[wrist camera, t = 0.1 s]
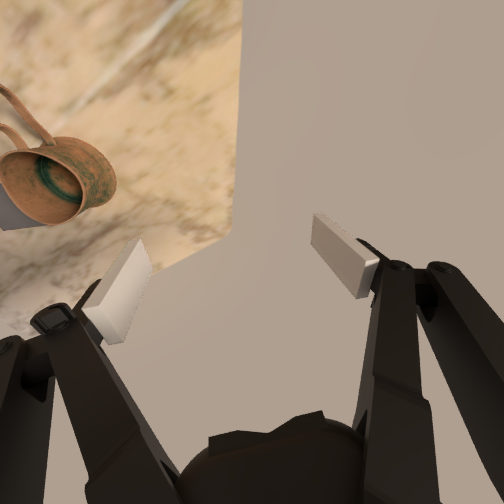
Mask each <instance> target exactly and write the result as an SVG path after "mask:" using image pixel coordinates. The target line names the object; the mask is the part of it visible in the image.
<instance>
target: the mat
mask: <svg viewBox="0 0 504 504" xmlns="http://www.w3.org/2000/svg"><path fill="white" fill-rule="evenodd" d="M43 225H47V224H43V223H40V222H38V221H36V220H34V219H32V218H30V217H29V216H27V215H26V214H24V213H23V212H22V211H21V210H20V209H19V208H18V207H17V206H16V205H15V204H14V203H13V201H12V200H11V199H10V197H9V196H8V194H7V193H6V191H5V189H4V187H3V186H2V184H1V183H0V227H1V229H2V230H3V231H5V230H13V229H21V228H28V227H36V226H43Z"/></svg>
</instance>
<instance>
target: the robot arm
mask: <svg viewBox="0 0 504 504" xmlns="http://www.w3.org/2000/svg"><path fill="white" fill-rule="evenodd" d="M311 245H312V246H313V247H314V249H315V250H316V251H317V252H318V254H319V255H320V256H321V257H322V258H323V260H324V261H325V262H326V263H327V264H328V266H329V267H330V268H331V269H332V271H333V272H334V273H335V274H336V275H337V277H338V278H339V279H340V280H341V282H342V283H343V284H344V285H345V286H346V288H347V289H348V290H349V291H350V292H351V294H352V295H353V296H354V297H355V299H359V298H364V297H368V295H369V292H370V289H371V290H372V291H373V292H374V293H375V295H374V298H373V301H372V304H371V308H372V310H371V317H370V323H369V331H368V337H367V343H366V349H365V356H364V362H363V369H362V375H361V382H360V389H359V396H358V402H357V408H356V413H355V416H354V420H353V425H352V428H351V427H349V426H347V425H345V424H343V423H341V422H338V421H335V420H331V419H326V418H325V417H324V415H323V412H322V411H316V412H312V413H308V414H304V415H300V416H295V417H294V418H292V419H291V420H289V421H287V422H286V423H284V424H283V425H281V426H279V427H278V428H276V429H275V430H273V431H271V432H269V433H261V432H250V431H240V430H237V431H233V432H229V433H224V434H220V435H216V436H212V437H209V446H208V447H207V448H205V449H204V450H202V451H201V452H200V453H199V454H197V455H196V456H195V457H194V458H193V460H191V461H190V463H189V464H188V465H187V466H186V468H185V469H184V470H183V472H182V473H181V474H180V473H179V471H178V470H177V469H176V467H175V466H174V464H173V463H172V461H171V460H170V459H169V457H168V456H167V454H166V453H165V451H164V449H163V448H162V446H161V444H160V443H159V441H158V439H157V438H156V436H155V435H154V433H153V431H152V429H151V428H150V426H149V425H148V423H147V421H146V420H145V418H144V416H143V415H142V413H141V411H140V410H139V408H138V406H137V405H136V403H135V402H134V400H133V398H132V397H131V395H130V393H129V392H128V390H127V388H126V387H125V385H124V383H123V382H122V380H121V378H120V377H119V375H118V374H117V372H116V370H115V369H114V367H113V365H112V364H111V362H110V360H109V359H108V357H107V355H106V354H105V352H104V350H103V349H102V348H101V346H100V344H101V342H102V340H103V339H104V340H105V341H106V343H107V344H108V345H112V344H117V343H122V342H124V340H125V338H126V335H127V333H128V330H129V328H130V325H131V323H132V320H133V318H134V315H135V313H136V310H137V308H138V305H139V303H140V300H141V298H142V295H143V293H144V290H145V288H146V285H147V283H148V280H149V278H150V275H151V273H152V270H153V267H152V264H151V262H150V260H149V257H148V255H147V252H146V250H145V248H144V245H143V243H142V240H141V238H139V239H131V240H129V241H128V243H127V244H126V246H125V247H124V248H123V250H122V251H121V253H120V254H119V256H118V257H117V258H116V260H115V261H114V263H113V264H112V266H111V267H110V268H109V270H108V271H107V273H106V274H105V276H104V277H103V278H102V279H98V280H97V281H95V282H94V283H93V284H92V285H90V286H89V288H88V289H87V290H86V292H85V293H84V295H83V296H82V297H81V299H80V300H79V301H78V303H77V304H76V305H75V307H74V308H73V309H72V310H71V308H70V307H69V306H68V305H67V304H66V303H56V304H53V305H50V306H48V307H46V308H44V309H42V310H41V311H39V312H38V313H37V314H36V315H34V316H33V318H32V319H31V321H30V324H31V325H32V326H33V327H34V328H35V329H36V330H37V331H38V332H39V333H40V334H41V335H39V336H37V337H34V338H31V339H28V340H26V341H25V340H24V339H22V338H21V337H20V336H18V335H14V336H9V337H6V338H4V339H1V340H0V504H43V498H44V489H45V479H46V469H47V459H48V449H49V439H50V428H51V419H52V409H53V398H54V389H55V388H54V387H55V379H57V382H58V385H59V388H60V391H61V394H62V397H63V400H64V403H65V406H66V409H67V412H68V415H69V418H70V421H71V424H72V427H73V430H74V433H75V436H76V439H77V442H78V445H79V448H80V451H81V454H82V457H83V460H84V463H85V466H86V469H87V472H88V476H89V480H88V482H87V483H86V485H85V495H86V500H87V503H88V504H442V503H441V502H440V497H439V487H438V476H437V466H436V456H435V445H434V433H433V423H432V412H431V407H430V404H429V401H428V400H426V399H424V398H423V396H422V387H421V372H420V357H419V342H418V328H417V315H418V318H419V320H420V322H421V324H422V327H423V329H424V331H425V333H426V336H427V338H428V340H429V342H430V345H431V347H432V350H433V352H434V354H435V356H436V359H437V361H438V363H439V366H440V368H441V370H442V372H443V375H444V377H445V379H446V381H447V384H448V386H449V388H450V390H451V393H452V395H453V397H454V400H455V402H456V404H457V406H458V409H459V411H460V413H461V416H462V418H463V420H464V423H465V425H466V427H467V429H468V432H469V434H470V436H471V439H472V441H473V443H474V445H475V448H476V450H477V452H478V455H479V457H480V459H481V461H482V463H483V465H484V467H485V469H486V471H487V473H488V475H489V477H490V479H491V481H492V483H493V485H494V486H495V488H496V490H497V491H498V493H499V495H500V497H501V499H502V500H503V502H504V323H503V322H502V320H501V319H500V318H499V317H498V316H497V314H496V313H495V312H494V311H493V310H492V308H491V307H490V306H489V305H488V304H487V302H486V301H485V300H484V299H483V298H482V296H481V295H480V294H479V293H478V292H477V290H476V289H475V288H474V287H473V285H472V284H471V283H470V282H469V281H468V279H467V278H466V277H465V276H464V275H463V274H462V273H461V271H460V270H459V269H458V268H457V267H455V266H453V265H451V264H449V263H445V262H439V261H433V262H430V263H429V264H428V266H427V268H426V269H414V268H412V267H411V266H410V265H409V264H407V263H405V262H402V261H399V260H390V259H388V258H387V257H385V256H384V255H383V254H382V253H380V252H379V251H378V250H376V249H375V248H374V247H372V246H371V245H370V244H369V243H367V242H366V241H364V240H361V239H359V238H357V239H355V238H353V237H352V236H351V235H350V234H349V233H347V232H346V231H345V230H344V229H342V228H341V227H340V226H339V225H337V224H336V223H335V222H333V221H332V220H331V219H330V218H329V217H327V216H326V215H325V214H324V213H317V214H313V225H312V236H311Z"/></svg>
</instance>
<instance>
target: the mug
mask: <svg viewBox="0 0 504 504" xmlns="http://www.w3.org/2000/svg"><path fill="white" fill-rule="evenodd" d="M0 93H1V94H2V95H3V96H4V97H5V98H6V99H7V100H8V101H9V102H10V103H11V104H12V105H13V107H14V108H15V109H16V110H17V112H18V113H19V114H20V115H21V117H22V118H23V119H24V120H25V121H26V122H27V123H28V124H29V125H30V126H31V127H32V128H34V129H35V130H36V131H37V132H38V133H39V134H40V135H41V136H42V137H43V138H44V140H45V142H44V143H43V144H41V146H40V147H38V148H32V149H29V148H28V147H27V145H26V143H25V142H24V140H23V139H22V138H21V137H20V135H19V134H18V133H17V132H16V131H14V130H13V129H12V128H10V127H9V126H7V125H4V124H1V123H0V130H1V131H2V132H4V133H5V134H6V135H7V136H8V137H9V138H10V139H11V140H12V141H13V143H14V144H15V146H16V147H17V149H18V150H14V151H10V152H7V153H5V154H4V155H2V156H1V157H0V181H1V184H2V186H3V187H4V189H5V191H6V193H7V194H8V196H9V197H10V199H11V200H12V201H13V203H14V204H15V205H16V206H17V207H18V208H19V209H20V210H21V211H22V212H23V213H24V214H26V215H27V216H29V217H30V218H32V219H34V220H36V221H38V222H40V223H43V224H47V225H59V224H63V223H66V222H68V221H70V220H71V219H73V218H74V217H76V216H77V215H78V214H80V213H81V212H83V211H84V210H85V209H88V208H89V207H98V206H101V205H103V204H105V203H107V202H108V201H109V200H110V199H111V198H112V197H113V195H114V193H115V191H116V176H115V173H114V170H113V168H112V166H111V165H110V163H109V161H108V160H107V159H106V158H105V157H104V155H103V154H102V153H101V152H99V151H98V150H97V149H96V148H94V147H93V146H91V145H90V144H88V143H86V142H84V141H82V140H79V139H76V138H71V137H55V138H52V136H51V135H50V134H49V133H48V132H47V131H46V130H45V129H44V128H43V127H42V126H41V125H40V124H39V123H38V122H37V121H36V120H35V119H34V118H33V117H32V115H31V114H30V113H29V112H28V110H27V109H26V108H25V106H24V105H23V104H22V103H21V101H20V100H19V99H18V98H17V97H16V96H15V95H14V94H13V93H12V92H11V91H10V90H9V89H7V88H6V87H4V86H3V85H1V84H0Z"/></svg>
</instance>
